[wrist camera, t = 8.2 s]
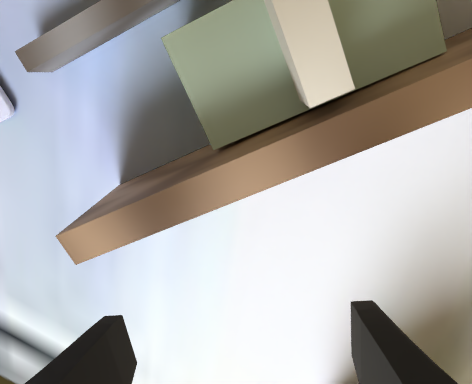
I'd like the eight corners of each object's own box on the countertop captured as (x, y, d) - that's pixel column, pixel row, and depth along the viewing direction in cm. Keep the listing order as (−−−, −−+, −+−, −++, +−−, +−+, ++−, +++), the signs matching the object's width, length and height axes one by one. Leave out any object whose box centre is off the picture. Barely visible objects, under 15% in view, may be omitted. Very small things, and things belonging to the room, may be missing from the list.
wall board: (132, 205, 20) (75, 264, 14) (41, 53, 17) (-80, 44, 11) (568, 20, 15) (780, -15, 9) (539, -236, 12) (818, -543, 6)
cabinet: (223, 134, 18) (201, 168, 12) (183, 45, 17) (133, 28, 10) (403, 55, 16) (501, 45, 10) (376, -53, 15) (468, -154, 8)
